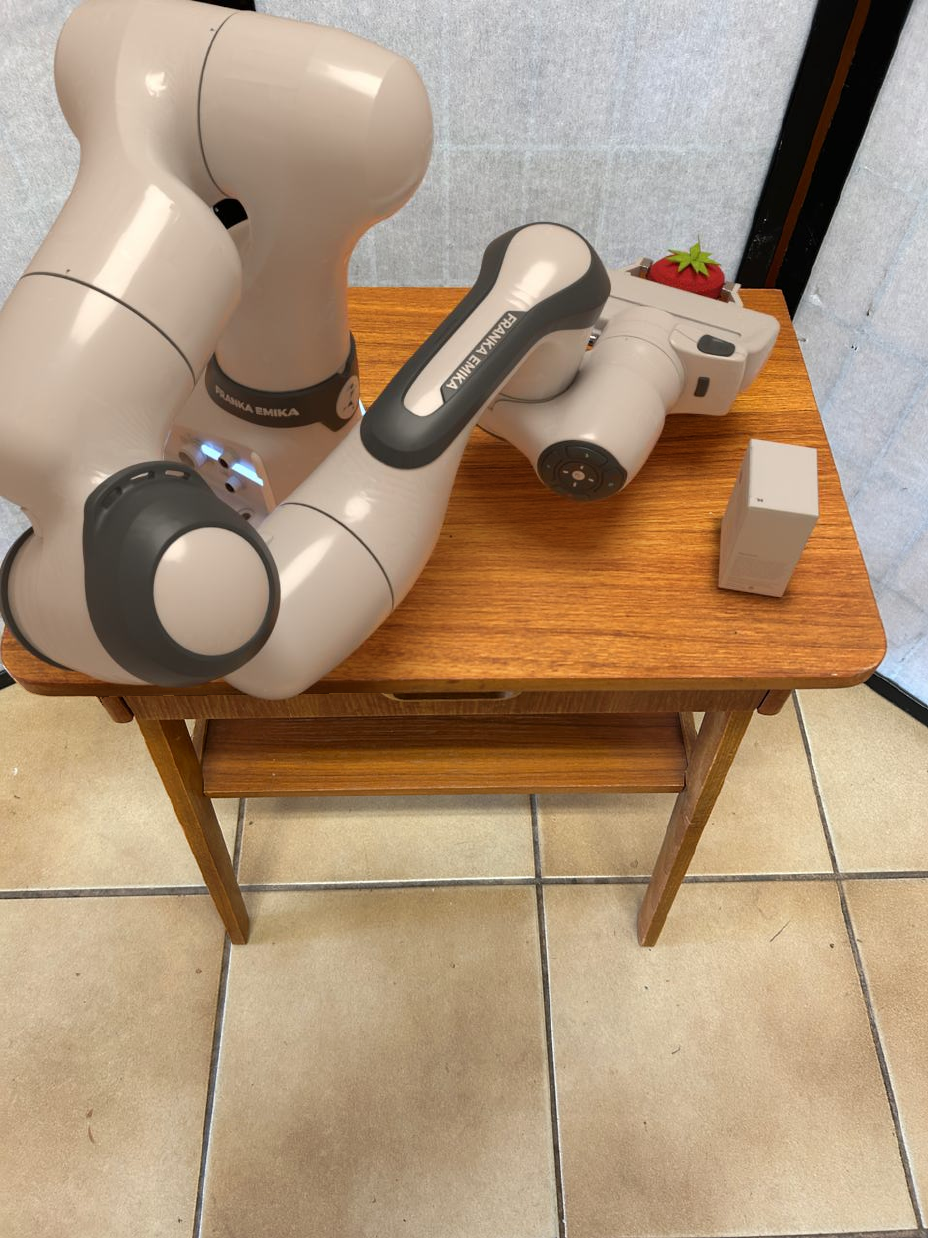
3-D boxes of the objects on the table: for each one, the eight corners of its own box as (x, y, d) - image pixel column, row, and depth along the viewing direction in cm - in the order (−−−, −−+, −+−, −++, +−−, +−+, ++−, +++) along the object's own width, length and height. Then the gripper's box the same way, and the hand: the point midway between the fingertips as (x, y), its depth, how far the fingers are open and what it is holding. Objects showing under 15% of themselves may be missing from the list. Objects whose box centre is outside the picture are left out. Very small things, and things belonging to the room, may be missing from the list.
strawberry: (636, 307, 98) (654, 217, 90) (710, 313, 98) (735, 224, 89) (636, 344, 94) (655, 254, 86) (713, 350, 94) (739, 260, 86)
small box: (781, 600, 82) (821, 518, 73) (715, 588, 82) (747, 506, 74) (782, 531, 86) (819, 446, 78) (720, 520, 87) (750, 435, 78)
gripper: (531, 354, 90) (584, 275, 97) (743, 421, 85) (781, 333, 92) (537, 297, 84) (592, 218, 92) (762, 364, 80) (801, 275, 87)
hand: (689, 276), depth 92 cm, fingers closed on strawberry, 7 cm apart
